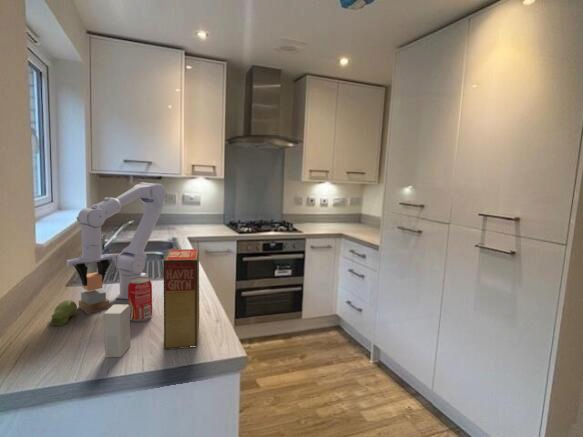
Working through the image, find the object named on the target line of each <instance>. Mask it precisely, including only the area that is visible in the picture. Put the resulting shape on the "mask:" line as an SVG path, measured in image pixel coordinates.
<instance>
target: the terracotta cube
mask: <svg viewBox="0 0 583 437" xmlns="http://www.w3.org/2000/svg"><path fill="white" fill-rule="evenodd" d="M82 288H83V289H84V291H91V290H95V289H100V290H101V289H103V283H102V275H101V274H99V273H98V271H96V272H90V273H87V286H83V285H82Z"/></svg>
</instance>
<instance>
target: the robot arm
mask: <svg viewBox="0 0 583 437" xmlns="http://www.w3.org/2000/svg"><path fill="white" fill-rule="evenodd" d="M166 196H167V192H166V189H165V186H164V185H163V184H161V183H150V182H145V181H143V182H142V181H141V182H139V183H137V184H135V185H134V186H133V187H131V188H130V189H129V190H126V191H125V192H123V193H122V194H120V195H118V196H117V197H108V196H107V197H104V198H103V200H102V201H100V202H98V203H96V204H92V205H91V206H90V207H89V208H88V207H86V208H83V209H81V210H80V211H79V213H78V215H77V217H76V221H77V222H78V224H79V226H80V230H81V233H80V234H81V235H80V236H81V256H80V257H76V258H71V259H66V267H68V268H72V267H74V269H75V270H76V272H77V274H78V275H79V278H80V282H81V284H82V287H83V286H87V274H88V266H86V265H88V264H94V263H96V267H97V273H99V274H101V275H102V284H103V283H104V279H105V276H106V272H107V270H108V268H109V267H110V265H111V262H110V261H114V266H115V268H116V269H118V273H119V294H117V295H116V297H115V299H117V300H124V299H125V300H128V284H129V280H130V279H132V278H135V277H149V276H148V273H145V272H143V271H144V269H145V265H146V260H147V258H148V255H147V254H146V252H145V249H146V246H147V245H148V242H149V239H150V238H151V235H152V233H153V231H154V229H155V226H156V224H157V223H158V220H159V218H160V216H161V213H162V211H163V207H164V201H165V199H166ZM137 199H140V201H141V202H142V203H143V205H144V206H145V211H144V213H143V214H142V217H141V219H140V222H139V223H138V226H137V229H136V230H135V232H134V234H133V237H132V238H131V240H130V243H129V245H128V246H126V247H124V248H123V249H122V250H121V252H120V254H118V255H117V256H116V254H115V253H105V254H103V252H102V250H103V249H102V226H103V225H104V224H105V221H106V220H107V219H109V218H111V217H112V216H114V215H116V214H118V213H119V212H121V208H122V207H123V206H125V205H127V204H129V203H131V202H133V201H135V200H137Z"/></svg>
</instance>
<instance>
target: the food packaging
mask: <svg viewBox="0 0 583 437" xmlns="http://www.w3.org/2000/svg"><path fill="white" fill-rule="evenodd" d="M162 263H163V349H164V348H165V349H164V350H170V349H169V348H179V349H181V348H180V347H190V346H197V347H198V344H197V343H198V341H199V334H198V333H200V250H199V249H197V248H195V249H193V248H190V249H188V248H187V249H186V248H185V249H184V248H183V249H179V248H177V249H175V248H174V249H169V250H168V251H167V253H166V256H165V258H164V259H163V261H162Z"/></svg>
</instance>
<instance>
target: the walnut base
mask: <svg viewBox="0 0 583 437" xmlns="http://www.w3.org/2000/svg"><path fill="white" fill-rule="evenodd" d="M78 308H79V309H80V310H82V311H83V312H85V313H86V314H90V313H94V312H98V311H102V310H105V309H109V308H110V300H109V299H108V298H106V301H103V302H99V303H95V304H91V305H88V304H86V303H84V302H83V301H81V299H78Z"/></svg>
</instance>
